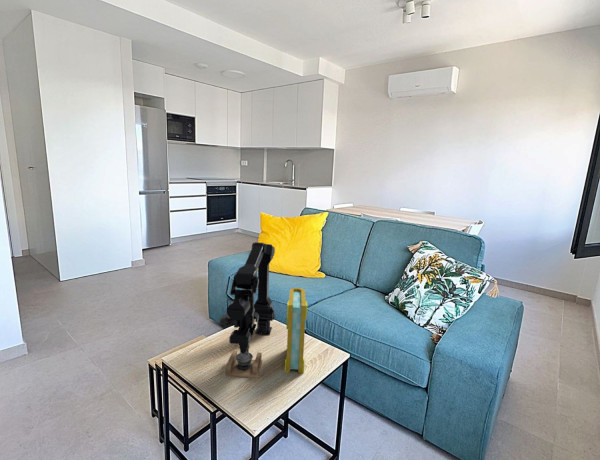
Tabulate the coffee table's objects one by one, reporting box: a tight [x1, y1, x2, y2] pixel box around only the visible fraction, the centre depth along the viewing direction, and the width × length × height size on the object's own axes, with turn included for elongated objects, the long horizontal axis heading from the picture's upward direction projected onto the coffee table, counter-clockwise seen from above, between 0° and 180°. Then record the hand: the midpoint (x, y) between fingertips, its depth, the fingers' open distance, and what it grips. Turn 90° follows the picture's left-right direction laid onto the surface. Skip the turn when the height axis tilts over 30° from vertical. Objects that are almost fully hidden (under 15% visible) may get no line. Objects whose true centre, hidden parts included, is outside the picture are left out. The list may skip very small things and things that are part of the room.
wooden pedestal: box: [224, 350, 263, 379], centre depth 115 cm, size 9×11×4 cm
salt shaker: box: [236, 343, 254, 371], centre depth 114 cm, size 6×6×12 cm
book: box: [284, 287, 308, 374], centre depth 121 cm, size 17×7×25 cm, turn 0°
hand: (244, 349), depth 114 cm, fingers open, 4 cm apart
